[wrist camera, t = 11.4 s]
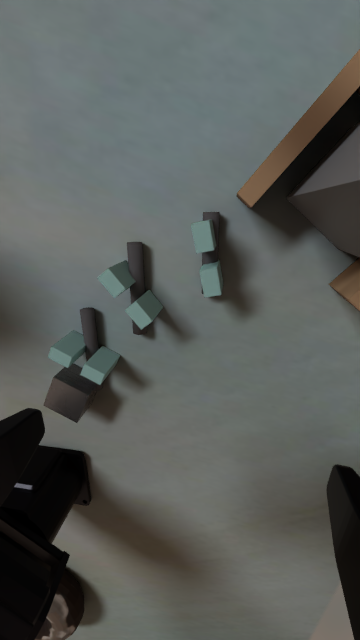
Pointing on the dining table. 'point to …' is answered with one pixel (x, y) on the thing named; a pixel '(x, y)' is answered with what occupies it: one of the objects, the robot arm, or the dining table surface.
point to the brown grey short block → (70, 393)
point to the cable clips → (135, 307)
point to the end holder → (356, 280)
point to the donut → (63, 610)
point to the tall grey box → (334, 194)
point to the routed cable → (137, 288)
